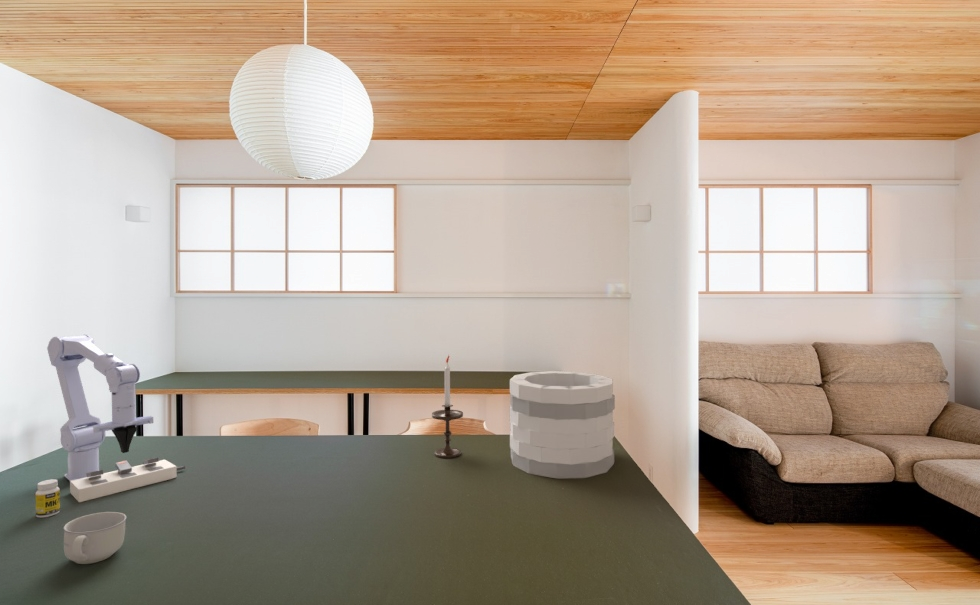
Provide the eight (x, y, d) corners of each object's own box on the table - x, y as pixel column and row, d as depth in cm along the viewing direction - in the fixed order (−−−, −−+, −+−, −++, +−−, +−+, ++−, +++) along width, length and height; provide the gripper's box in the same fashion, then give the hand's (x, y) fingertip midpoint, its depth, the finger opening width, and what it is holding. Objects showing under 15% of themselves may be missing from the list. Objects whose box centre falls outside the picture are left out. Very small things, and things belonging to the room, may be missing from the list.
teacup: (87, 545, 116) (86, 510, 116) (137, 543, 117) (137, 508, 117) (38, 580, 103) (37, 540, 102) (96, 577, 103) (95, 538, 103)
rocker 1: (86, 477, 148) (86, 472, 149) (98, 474, 151) (98, 470, 151) (91, 476, 145) (90, 472, 146) (103, 474, 147) (102, 469, 148)
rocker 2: (115, 466, 154) (115, 462, 154) (126, 463, 156) (126, 460, 156) (120, 474, 151) (120, 470, 151) (131, 471, 153) (131, 467, 153)
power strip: (70, 493, 147) (69, 478, 146) (178, 466, 168) (178, 454, 168) (79, 502, 140) (78, 487, 140) (190, 473, 162) (190, 460, 162)
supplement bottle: (45, 519, 130) (44, 486, 130) (30, 517, 131) (30, 484, 131) (64, 510, 135) (64, 479, 135) (50, 509, 136) (49, 477, 135)
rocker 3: (142, 464, 159) (142, 460, 159) (153, 462, 161) (152, 458, 162) (148, 463, 156) (147, 459, 156) (158, 461, 158) (158, 457, 158)
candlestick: (469, 452, 182) (468, 353, 181) (450, 461, 173) (450, 357, 172) (444, 447, 188) (444, 351, 187) (425, 455, 178) (425, 355, 178)
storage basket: (506, 445, 190) (505, 371, 190) (599, 443, 192) (599, 370, 191) (514, 480, 155) (514, 389, 155) (628, 478, 157) (628, 388, 156)
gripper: (97, 412, 144) (98, 461, 144) (156, 403, 155) (157, 448, 155) (90, 409, 148) (91, 455, 149) (148, 400, 160) (149, 444, 160)
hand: (124, 451), depth 152 cm, fingers closed
